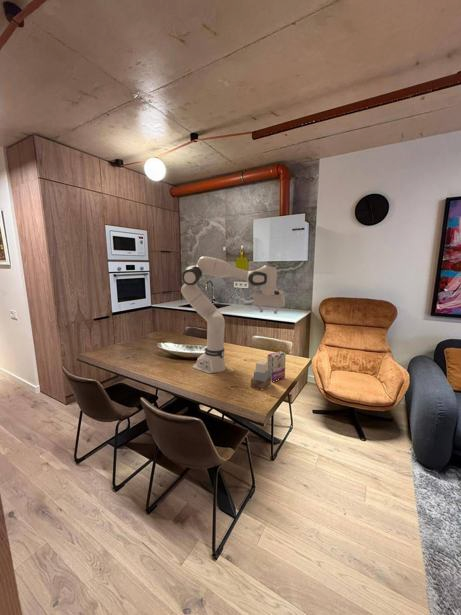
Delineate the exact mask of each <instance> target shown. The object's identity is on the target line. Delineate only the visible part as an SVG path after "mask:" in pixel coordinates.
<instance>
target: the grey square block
mask: <svg viewBox="0 0 461 615" xmlns="http://www.w3.org/2000/svg"><path fill="white" fill-rule="evenodd" d="M253 377H254V380H258V381H263V382H266V381H267V379H268V378H269V370H267V371H266V372H265V373H260V372H256V369H255V370H254V372H253Z"/></svg>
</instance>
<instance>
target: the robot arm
mask: <svg viewBox="0 0 461 615" xmlns="http://www.w3.org/2000/svg"><path fill="white" fill-rule="evenodd" d="M204 275H208V276H211V277H214V278H229V277H230V278H231V277H232V278H236V279H240V280H244V281H245V282H247V283H248V284H249V285H251V286H253V287H259V286H261V290H255V291H254V292H253V301H252V303H253V305H254V306H258V307H257V308H258V309H259V312H260V313H263V312H264V309H262V307H263V306H265V307H274V308H275V310H274V313H273V314H275V315H277V314H278V312H279V310H280V308H283V307H285V306H286V298H285V295H284V293H285V292H284V290H281V289H279V288H277V280H278V277H277V276H278V272H277V268H276V267H275V266H273V265H268V264H265V265H263V266H262V267H261V266H260V268H257V269H250V270H247V269H242V268H239V267H235V266H233V265H232V264H230V263H229V262H227V261H226V260H223V259H220V258H216V257H212V256H205V255H204V256H201V257H200V258H199V259H198V261H197V263H196V264H191V265H188V266H187V267H185V269H184V270H183V271H182V275H181V280H182V281H183V283H184V284H183V285H182V286H181V287H180V288H181V289H180V293H181V295H182V296H183V297H184V299H185V300H186V302H187V303H188V304H189V305H190V306H191V307H192V309H193V310H195V312H196V313H197V314H198V315H199V316H201V317H202V318H203V320H205V321H206V323H207V324H206V327H207V328H206V336H207V337H206V348H204V349H203V353H202V354H201V355H200V356H198V357H197V360H196V363H194V364H193V366H192V368H193V369H194V370H198V371H199V372H203V373H205V374H212V373H214V374H215V373H221V372H224V371H225V370H226V369H227V366H226V362H225V346H224V343H225V341H224V340H225V338H224V337H225V328H226V327H225V324H226V323H225V322H226V320H225V318H224V315H223V313H222V312H221V311H220V310H219V309H218V308H217V307H216V306H215V304H213V302H212V301H211V300H210V299H209V298H208V296H206V294H205V293H204V292H203V291H202V290H201V289H200V288H199V286H198V283H199V282H200V280H201V279H202V276H204Z"/></svg>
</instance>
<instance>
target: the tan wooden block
mask: <svg viewBox="0 0 461 615" xmlns="http://www.w3.org/2000/svg"><path fill="white" fill-rule="evenodd" d="M271 384H272V382H271V376H269V378H268V379H267V381H266V382H263V381H258V380H254V376H253V377H252V378H251V379H250V388H252V387H253V389H256V388H258V389H257V390H260V389H263V390H262V391H265V390H266V389H267V390H268V388H269V387H270V386H271ZM269 385H270V386H269ZM268 386H269V387H268ZM267 390H266V391H267Z"/></svg>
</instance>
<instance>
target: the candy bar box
mask: <svg viewBox="0 0 461 615" xmlns="http://www.w3.org/2000/svg"><path fill="white" fill-rule="evenodd" d="M286 355H287V354H286V352H284V351H282V350H279V351H276V352H272V353H269V354H267V361H266V362H267V370H269V376H271V381H272V382H271V383H274V382H273V381H275V382H277V381H276V380H278V379H281V378H283V379H285V378H286ZM284 377H285V378H284ZM281 380H282V379H281ZM278 381H279V380H278Z"/></svg>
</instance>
